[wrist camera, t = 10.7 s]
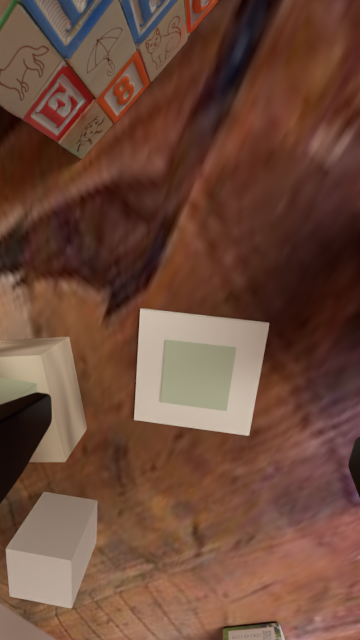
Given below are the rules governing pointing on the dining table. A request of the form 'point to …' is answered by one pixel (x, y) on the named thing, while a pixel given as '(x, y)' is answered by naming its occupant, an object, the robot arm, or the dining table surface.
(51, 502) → the grey block
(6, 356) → the birch base block
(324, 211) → the dining table surface
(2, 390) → the sage block
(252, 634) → the syrup box
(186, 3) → the stack of blocks
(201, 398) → the card
